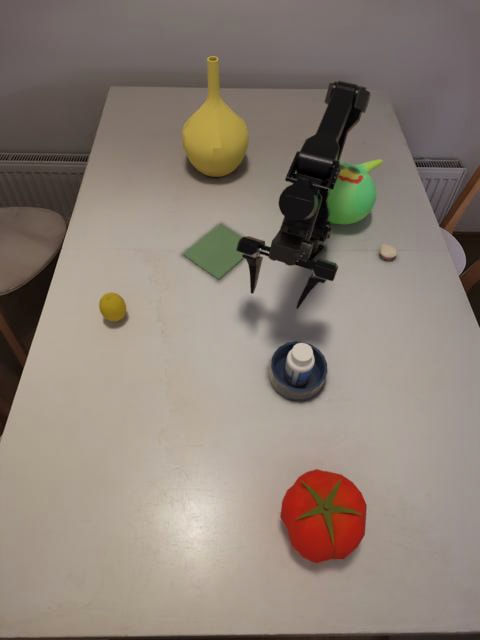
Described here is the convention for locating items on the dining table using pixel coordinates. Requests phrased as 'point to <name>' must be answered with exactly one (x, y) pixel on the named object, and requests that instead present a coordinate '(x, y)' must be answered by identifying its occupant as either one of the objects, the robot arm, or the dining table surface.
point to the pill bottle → (299, 364)
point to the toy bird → (353, 193)
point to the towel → (216, 251)
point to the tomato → (324, 516)
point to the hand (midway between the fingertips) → (274, 300)
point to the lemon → (112, 306)
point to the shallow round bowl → (288, 389)
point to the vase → (215, 132)
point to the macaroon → (388, 252)
